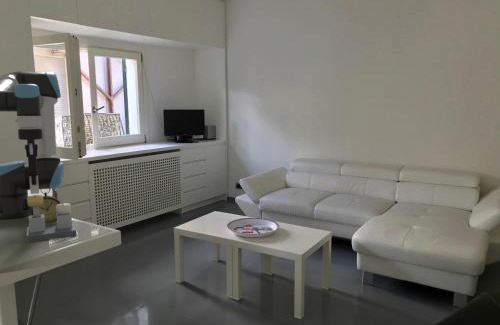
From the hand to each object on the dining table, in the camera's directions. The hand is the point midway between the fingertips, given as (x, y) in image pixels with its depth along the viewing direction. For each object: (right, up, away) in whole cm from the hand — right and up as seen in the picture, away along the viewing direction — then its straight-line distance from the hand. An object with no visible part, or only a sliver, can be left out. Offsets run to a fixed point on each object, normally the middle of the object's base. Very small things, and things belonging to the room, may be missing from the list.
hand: (34, 193), depth 143 cm
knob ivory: (+8, -13, +6) cm, 16 cm away
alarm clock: (-2, -14, +14) cm, 20 cm away
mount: (+4, -15, +4) cm, 16 cm away
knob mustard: (0, -9, +1) cm, 9 cm away
